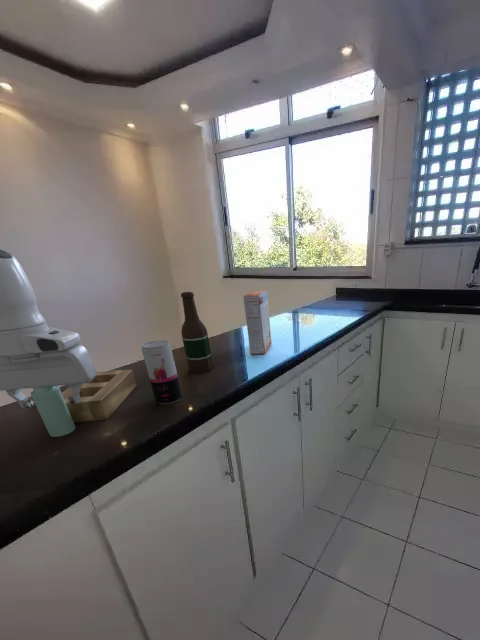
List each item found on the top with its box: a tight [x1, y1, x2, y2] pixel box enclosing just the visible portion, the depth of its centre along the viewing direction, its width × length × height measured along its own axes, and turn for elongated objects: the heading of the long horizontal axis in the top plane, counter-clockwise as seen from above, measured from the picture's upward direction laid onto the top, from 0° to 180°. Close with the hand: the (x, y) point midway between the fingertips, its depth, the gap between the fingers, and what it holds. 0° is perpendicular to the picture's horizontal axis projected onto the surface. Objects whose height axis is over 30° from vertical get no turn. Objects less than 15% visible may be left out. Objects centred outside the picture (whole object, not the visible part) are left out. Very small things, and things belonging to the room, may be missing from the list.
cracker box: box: [243, 289, 272, 355], centre depth 115 cm, size 14×6×21 cm, turn 174°
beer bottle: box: [180, 291, 214, 374], centre depth 96 cm, size 8×8×24 cm
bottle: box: [30, 386, 77, 438], centre depth 65 cm, size 5×5×15 cm
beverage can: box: [141, 339, 183, 405], centre depth 78 cm, size 7×6×15 cm
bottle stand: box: [61, 368, 138, 423], centre depth 80 cm, size 12×21×5 cm, turn 8°
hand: (52, 404), depth 66 cm, fingers open, 8 cm apart
